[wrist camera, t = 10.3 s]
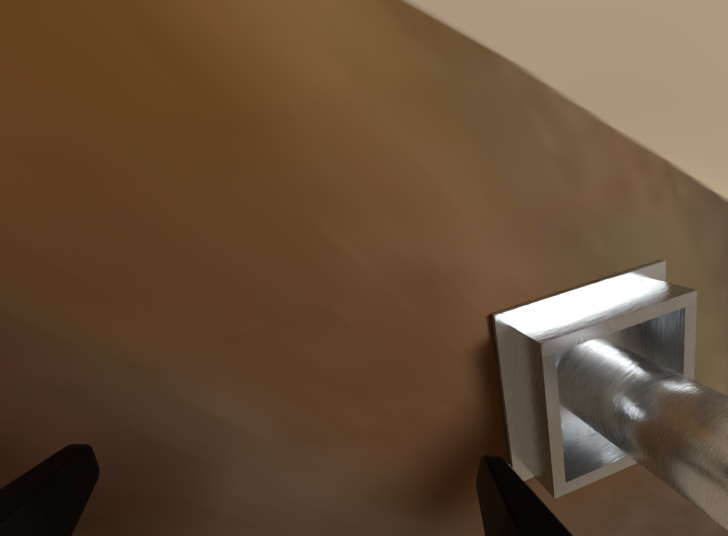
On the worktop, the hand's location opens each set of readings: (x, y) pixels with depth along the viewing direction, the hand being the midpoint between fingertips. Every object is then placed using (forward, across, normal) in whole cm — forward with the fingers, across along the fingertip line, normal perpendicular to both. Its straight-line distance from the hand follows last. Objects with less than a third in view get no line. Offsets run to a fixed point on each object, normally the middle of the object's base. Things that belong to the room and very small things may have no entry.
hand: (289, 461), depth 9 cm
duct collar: (+13, -16, +8) cm, 22 cm away
